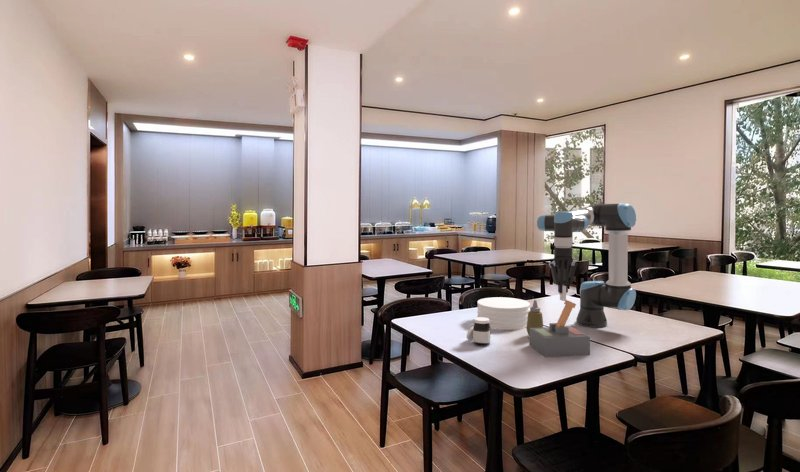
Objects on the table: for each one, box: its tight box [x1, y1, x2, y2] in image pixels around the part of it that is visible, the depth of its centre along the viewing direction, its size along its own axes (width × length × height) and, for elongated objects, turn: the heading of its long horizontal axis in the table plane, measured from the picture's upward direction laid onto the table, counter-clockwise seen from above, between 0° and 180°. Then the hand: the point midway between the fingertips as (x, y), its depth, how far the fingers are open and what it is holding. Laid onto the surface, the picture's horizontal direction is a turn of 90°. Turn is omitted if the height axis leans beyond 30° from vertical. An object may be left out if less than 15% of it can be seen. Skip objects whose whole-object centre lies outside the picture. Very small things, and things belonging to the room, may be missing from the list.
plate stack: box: [476, 296, 531, 331], centre depth 232 cm, size 28×28×12 cm
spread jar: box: [466, 317, 491, 347], centre depth 198 cm, size 12×11×12 cm
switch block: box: [528, 322, 591, 358], centre depth 187 cm, size 20×16×11 cm
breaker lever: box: [555, 299, 577, 327], centre depth 186 cm, size 3×4×14 cm
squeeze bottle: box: [525, 299, 544, 336], centre depth 206 cm, size 8×8×18 cm
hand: (562, 300), depth 186 cm, fingers closed
